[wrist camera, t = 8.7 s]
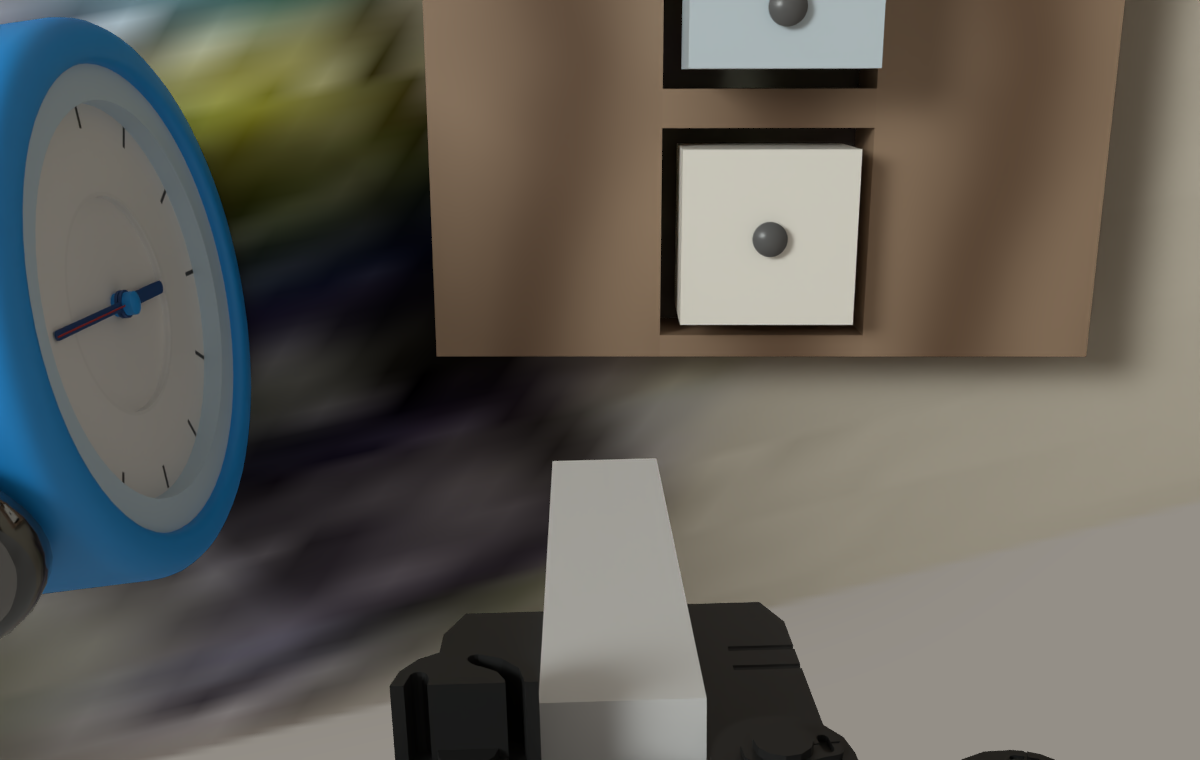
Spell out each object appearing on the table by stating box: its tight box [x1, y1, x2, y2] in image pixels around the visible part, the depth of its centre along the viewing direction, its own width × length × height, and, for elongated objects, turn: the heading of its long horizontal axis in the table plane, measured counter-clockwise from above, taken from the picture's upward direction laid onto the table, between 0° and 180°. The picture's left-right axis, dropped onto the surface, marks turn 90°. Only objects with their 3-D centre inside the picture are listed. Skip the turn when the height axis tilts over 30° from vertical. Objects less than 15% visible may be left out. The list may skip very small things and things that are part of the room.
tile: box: [674, 143, 862, 325], centre depth 31 cm, size 5×5×3 cm
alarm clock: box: [0, 17, 251, 639], centre depth 27 cm, size 13×6×15 cm, turn 8°
